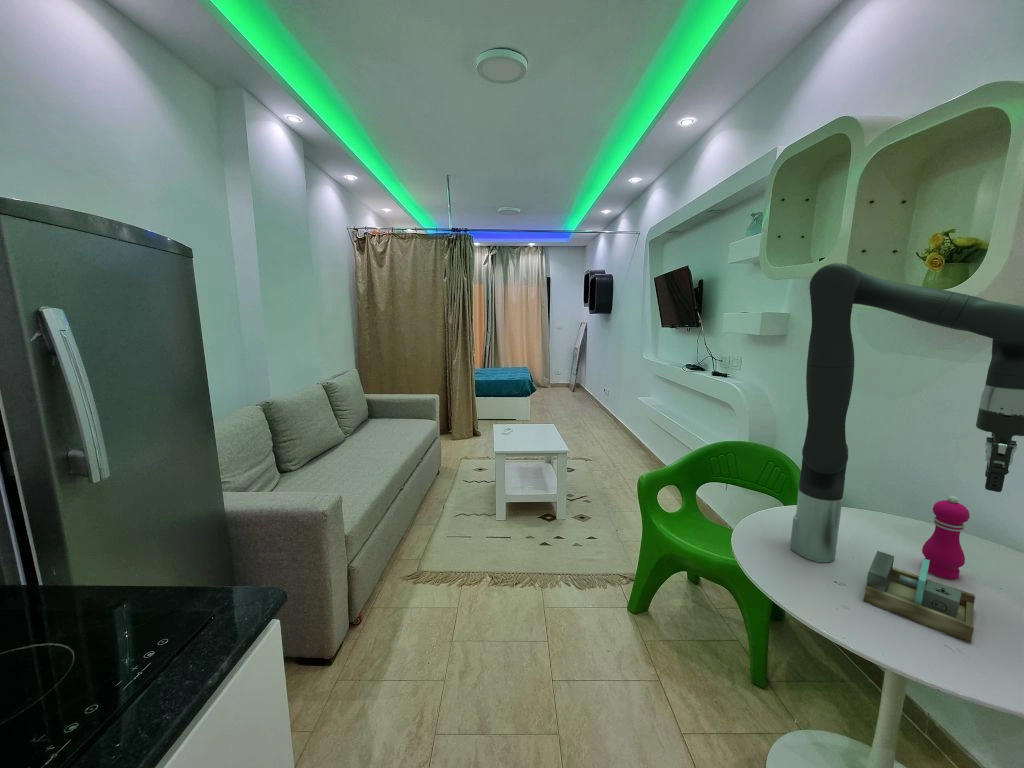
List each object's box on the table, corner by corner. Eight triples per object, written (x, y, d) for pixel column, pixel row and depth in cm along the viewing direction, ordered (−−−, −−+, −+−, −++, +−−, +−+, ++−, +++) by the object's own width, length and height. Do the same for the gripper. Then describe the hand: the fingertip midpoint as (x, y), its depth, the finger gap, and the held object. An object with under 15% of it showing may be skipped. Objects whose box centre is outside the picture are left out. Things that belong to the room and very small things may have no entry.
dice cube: (920, 610, 87) (924, 589, 86) (924, 599, 90) (928, 579, 89) (954, 623, 83) (958, 602, 82) (957, 612, 86) (961, 591, 85)
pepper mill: (970, 582, 96) (986, 504, 92) (934, 579, 97) (948, 502, 94) (945, 563, 103) (958, 490, 99) (911, 561, 104) (923, 488, 101)
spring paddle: (893, 605, 88) (898, 572, 86) (900, 583, 95) (905, 552, 93) (919, 615, 85) (925, 581, 83) (924, 592, 92) (929, 560, 90)
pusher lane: (863, 601, 91) (867, 573, 89) (874, 574, 99) (878, 549, 98) (970, 644, 79) (977, 612, 77) (972, 609, 87) (978, 580, 86)
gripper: (979, 400, 89) (966, 470, 91) (979, 412, 79) (964, 489, 82) (1035, 405, 83) (1019, 479, 86) (1041, 419, 74) (1023, 501, 77)
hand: (992, 484), depth 84 cm, fingers open, 8 cm apart
